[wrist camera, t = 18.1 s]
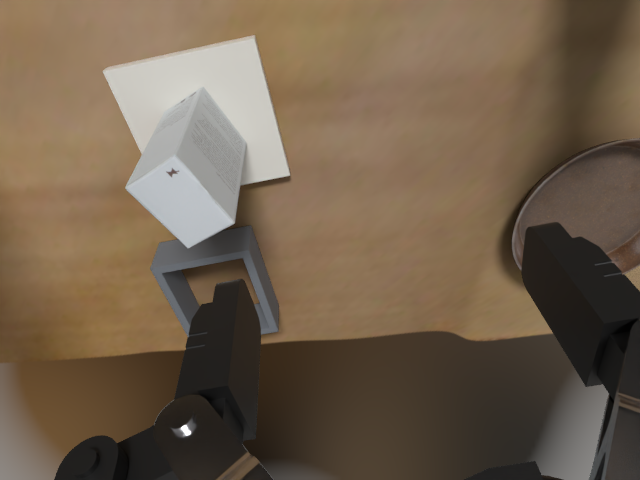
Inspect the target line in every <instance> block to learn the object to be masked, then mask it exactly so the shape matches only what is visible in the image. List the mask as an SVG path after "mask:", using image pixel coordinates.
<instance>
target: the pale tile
mask: <svg viewBox="0 0 640 480" xmlns="http://www.w3.org/2000/svg"><path fill="white" fill-rule="evenodd" d="M103 73H104V75H105V77H106V79H107V81H108V83H109V86H110V88H111V90H112V92H113V94H114V96H115V98H116V100H117V103H118V105H119V107H120V109H121V111H122V113H123V115H124V117H125V119H126V122H127V124H128V126H129V128H130V130H131V132H132V134H133V136H134V139H135V141H136V143H137V145H138V147H139V149H140V151H141V153H142V154H143V152H144V150H145V148H146V146H147V144H148V142H149V140H150V139H151V137H152V135H153V133H154V131H155V129H156V127H157V125H158V123H159V121H160V119H161V117H162V115H163V113H164V112H165V111H167V110H168V109H170V108H171V107H173V106H174V105H176V104H177V103H179V102H180V101H182V100H183V99H184V98H186V97H187V96H189V95H190V94H192V93H194V92H195V91H197V90H198V89H200V88H201V87H204V88H205V89H206V91H207V92H208V93H209V95H210V96H211V97H212V99H213V100H214V101H215V102H216V104H217V105H218V106H219V108H220V109H221V110H222V111H223V113H224V114H225V115H226V117H227V118H228V119H229V121H230V122H231V123H232V124H233V126H234V127H235V128H236V130H237V131H238V132H239V134H240V135H241V136H242V137H243V139H244V140H245V141H246V151H245V158H244V164H243V171H242V178H241V185H245V184H250V183H255V182H260V181H265V180H270V179H275V178H280V177H285V176H290V168H289V164H288V160H287V156H286V153H285V149H284V145H283V141H282V137H281V133H280V129H279V125H278V122H277V118H276V114H275V110H274V106H273V102H272V98H271V94H270V91H269V87H268V83H267V79H266V75H265V71H264V67H263V64H262V60H261V56H260V52H259V48H258V44H257V40H256V36H255V35H252V36H248V37H243V38H239V39H234V40H229V41H225V42H220V43H216V44H211V45H207V46H202V47H198V48H193V49H188V50H184V51H179V52H175V53H170V54H166V55H161V56H156V57H152V58H147V59H143V60H138V61H134V62H129V63H124V64H120V65H115V66H111V67H107V68H106V69H105V70H104V71H103Z"/></svg>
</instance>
